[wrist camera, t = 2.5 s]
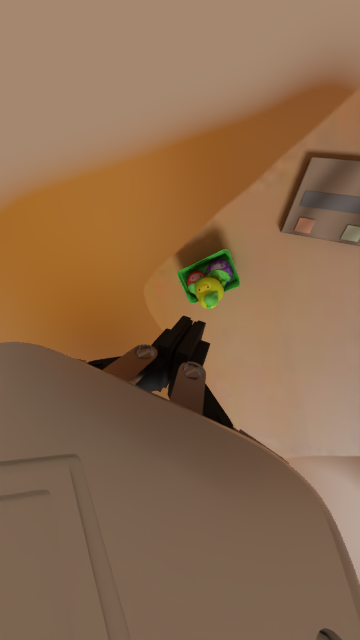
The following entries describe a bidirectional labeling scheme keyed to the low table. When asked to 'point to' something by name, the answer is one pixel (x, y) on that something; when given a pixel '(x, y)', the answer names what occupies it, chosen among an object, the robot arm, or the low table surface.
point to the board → (327, 202)
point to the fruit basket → (209, 279)
